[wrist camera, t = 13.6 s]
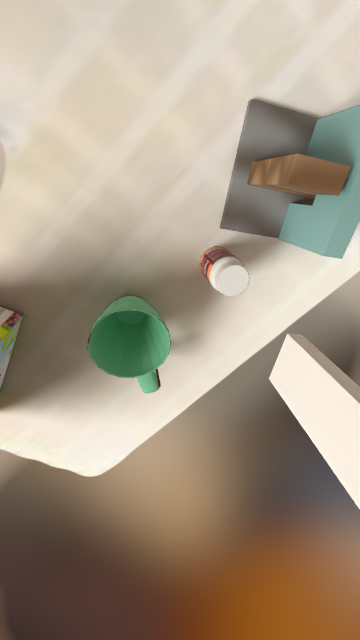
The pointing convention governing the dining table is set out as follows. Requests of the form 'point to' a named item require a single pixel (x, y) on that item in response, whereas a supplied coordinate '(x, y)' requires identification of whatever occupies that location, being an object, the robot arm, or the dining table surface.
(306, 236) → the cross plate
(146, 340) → the mug
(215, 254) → the pill bottle
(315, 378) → the robot arm
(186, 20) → the dining table surface
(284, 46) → the dining table surface
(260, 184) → the slotted stand
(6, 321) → the snack box
